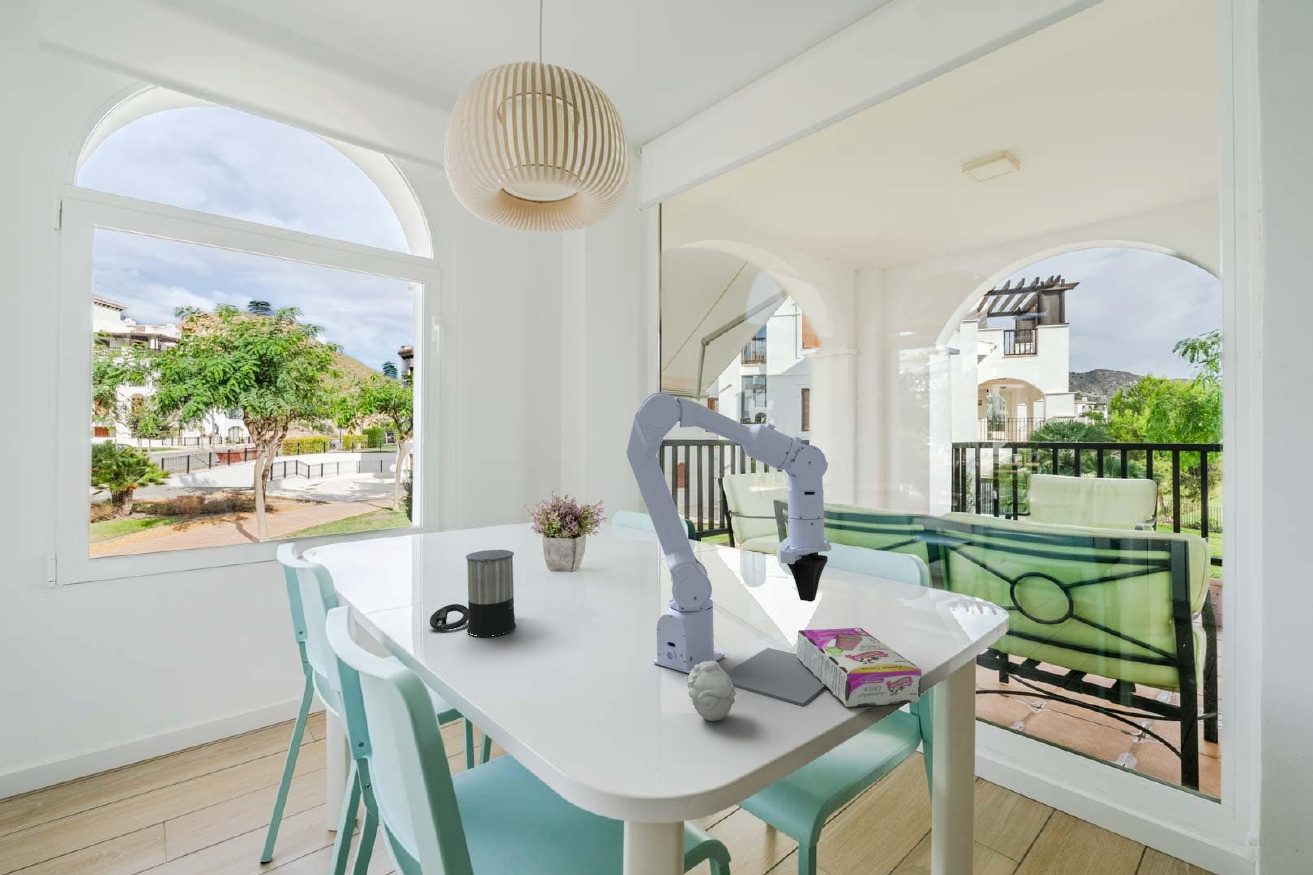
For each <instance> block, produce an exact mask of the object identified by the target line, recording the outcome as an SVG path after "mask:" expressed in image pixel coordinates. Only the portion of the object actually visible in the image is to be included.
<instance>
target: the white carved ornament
mask: <svg viewBox="0 0 1313 875" xmlns="http://www.w3.org/2000/svg"><path fill="white" fill-rule="evenodd" d="M694 666H695V667H694V668H693V669H692V671H691V672H690V673H688V677H687V687H688V696H689V697H690V698H691V702H692V705H693V707H694V709H695V710H696V712H697V713H698V715H699V716H701V718H703V719H705V720H707V721H710V722H717V721H721V720H723V719H724V718H726V717H727V715H729V713H730V711H731V709H732V706H733V704H735V702H736V700H735V697H736V695H737V692H736V687H735V686H734V685H733V684H732V681H731V678H730V677H729V675H728V674H727V673H726V672H727V671H724V668H722V667H721V665H720V663H719V662H718V661H707V662H706V661H705V662H701V663H700V664H699V665H698V664H697V665H694Z"/></svg>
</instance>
